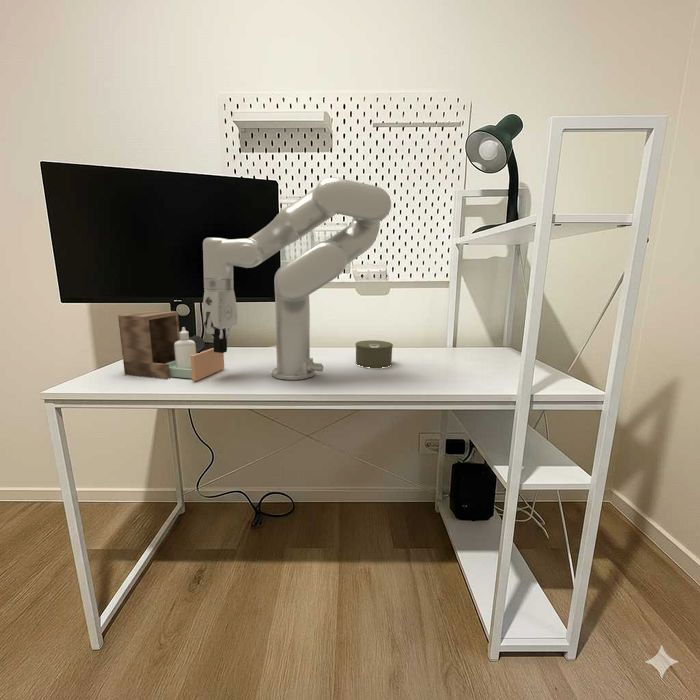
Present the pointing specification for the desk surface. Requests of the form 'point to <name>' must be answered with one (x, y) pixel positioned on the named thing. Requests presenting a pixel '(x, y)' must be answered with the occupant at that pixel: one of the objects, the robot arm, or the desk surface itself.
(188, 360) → the eye dropper bottle
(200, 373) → the drawer
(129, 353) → the cabinet
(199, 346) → the end cap
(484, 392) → the desk surface
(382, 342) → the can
